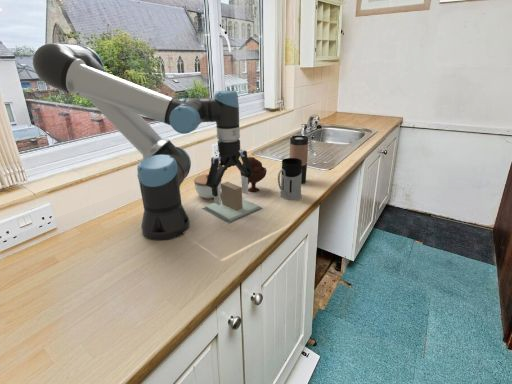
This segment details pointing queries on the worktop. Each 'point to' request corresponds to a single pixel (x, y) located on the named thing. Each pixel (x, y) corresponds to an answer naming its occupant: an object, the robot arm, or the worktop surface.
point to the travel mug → (300, 152)
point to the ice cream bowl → (255, 173)
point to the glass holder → (290, 179)
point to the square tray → (232, 220)
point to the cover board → (230, 211)
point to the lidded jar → (204, 186)
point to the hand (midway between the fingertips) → (231, 198)
